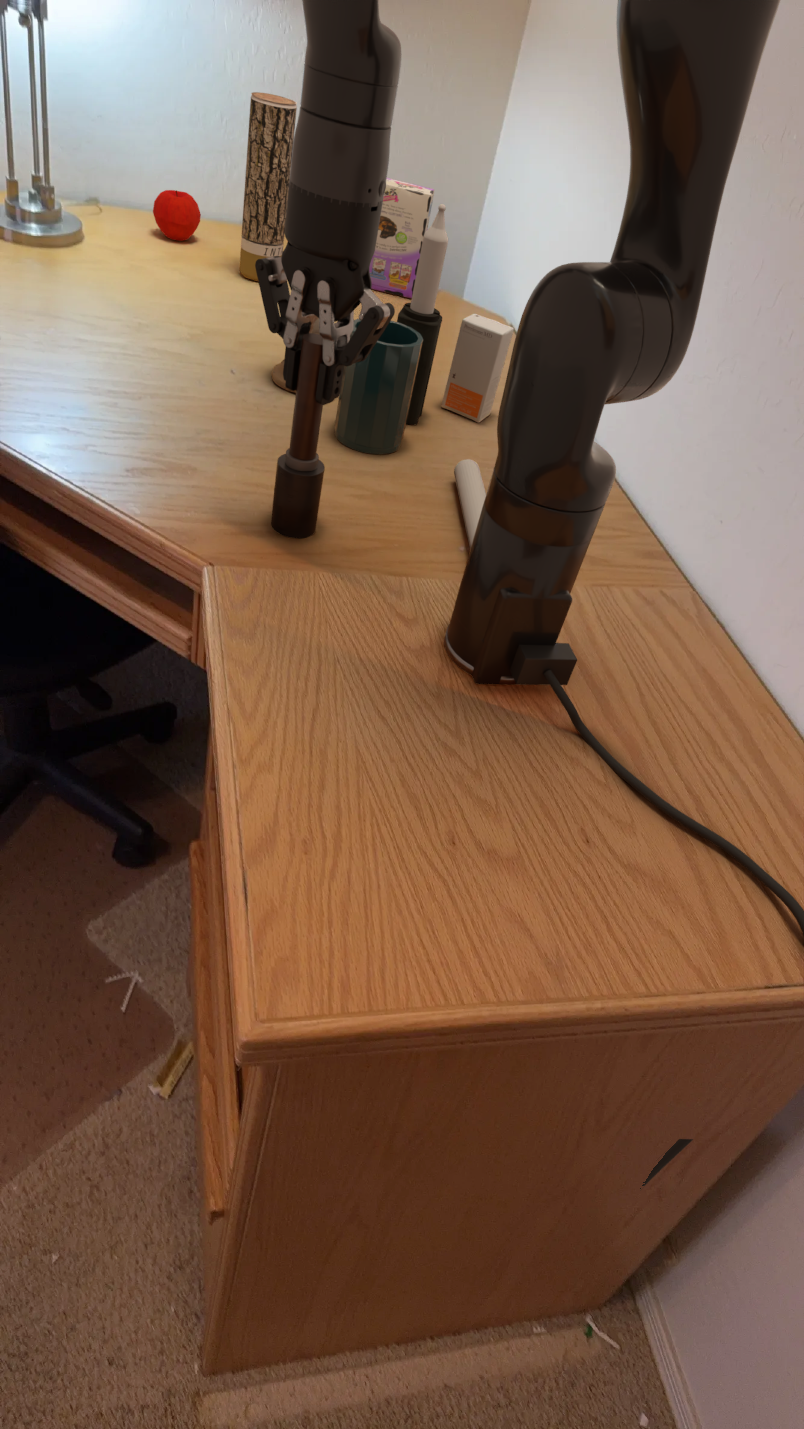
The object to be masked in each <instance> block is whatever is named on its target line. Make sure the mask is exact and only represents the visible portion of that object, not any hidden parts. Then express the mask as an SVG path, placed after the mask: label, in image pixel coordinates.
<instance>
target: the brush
mask: <svg viewBox="0 0 804 1429" xmlns="http://www.w3.org/2000/svg"><path fill="white" fill-rule="evenodd" d="M322 362H324V361H323V338H322V336H320V334H314V333H309V334H305V335H303V337H302V346H301V354H300V363H299V371H298V380H297V388H296V393H295V399H294V405H293V406H294V407H293V414H292V416H293V417H292V424H291V431H290V432H291V433H290V441H289V448H287V449H286V451H285V453H284V454H281V455H280V456H279V457H277V461H276V462H277V463H276V469H275V470H276V471H275V480H274V487H273V488H274V489H273V497H272V498H273V500H272V507H271V516H270V517H271V519H270V526H271V528H272V530H273V531H274V532H276V534H279V535H280V536H283V537H286V538H290V539H305V538H306V539H307V538H309V537H311V536H313V535H314V534H315V533H316V529H317V525H318V524H317V523H318V518H319V517H318V516H319V509H320V503H321V496H322V489H323V481H324V476H325V468H326V466H325V464H324V462H322V461H321V460H320V456H319V454H318V452H317V451H318V444H319V438H320V429H321V423H322V416H323V407H324V405H321V404H319V403H317V402H316V400H315V398H316V391H317V383H318V376H319V368H320V363H322Z"/></svg>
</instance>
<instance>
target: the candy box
mask: <svg viewBox="0 0 804 1429" xmlns="http://www.w3.org/2000/svg"><path fill="white" fill-rule="evenodd" d="M434 196H435V188H430V187H427V186H423V185H419V184H415V183H410V182H407V181H403V180H398V179H396V178H395V179H394V178H390V177H387V179H386V189H385V192H384V197H383V203H382V210H381V216H380V222H379V228H378V235H377V241H376V247H375V252H374V255H373V257H372V260H371V263H370V267H369V270H370V277H371V282H372V287H371V290H374V291H379V292H382V293H387V294H391V295H395V296H400V297H402V298H408V299H412V295H413V290H414V285H415V279H416V274H417V269H418V264H419V258H420V253H421V248H422V243H423V237H424V234H425V232H426V231H427V230H428V229H429V222H430V218H431V212H432V206H433V202H434Z"/></svg>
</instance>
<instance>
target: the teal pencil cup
mask: <svg viewBox="0 0 804 1429" xmlns="http://www.w3.org/2000/svg"><path fill="white" fill-rule="evenodd" d="M360 322H361V320H359V318H356V319H354V325H353V331H352V333H351V335H350V339H351V337H352V335H353V334H354V332H355V330H356V329H357V327H358V326H359V324H360ZM422 344H423V338H422V336H421V334H420V333H419V332H417V331H416V330H414V329H413V328H411V327H409V326H406V325H404V324H402V323H399V322H397V321H394V320H391V321H390V322H389V324H388V325H387V327H386V328H385V330H384V332H383V333H382V335H381V336H380V338H379V339H378V341H377V342H376V344H375V345H374V347H373V349H372V350H371V352H370V353H369V355H368V356H367V358H366V359H365V360H364V361H361V362H357V363H354V364H352V365H350V366H344V372H343V378H342V385H341V391H340V394H339V396H338V402H337V408H336V415H335V421H334V430H333V431H334V432H333V433H334V436H335V438H336V439H337V441H338V442H339V443H341V444H342V445H343V446H345V447H347V448H349V449H352V450H353V451H354V450H355V451H357V452H360V453H365V454H369V455H370V454H371V455H389V454H392V453H393V454H394V453H396V452H397V451H399V450H400V448H401V447H402V443H403V439H404V437H405V436H404V435H405V431H406V426H407V424H406V421H407V416H408V411H409V407H410V402H411V397H412V392H413V387H414V382H415V378H416V373H417V368H418V363H419V358H420V353H421V349H422Z"/></svg>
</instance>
